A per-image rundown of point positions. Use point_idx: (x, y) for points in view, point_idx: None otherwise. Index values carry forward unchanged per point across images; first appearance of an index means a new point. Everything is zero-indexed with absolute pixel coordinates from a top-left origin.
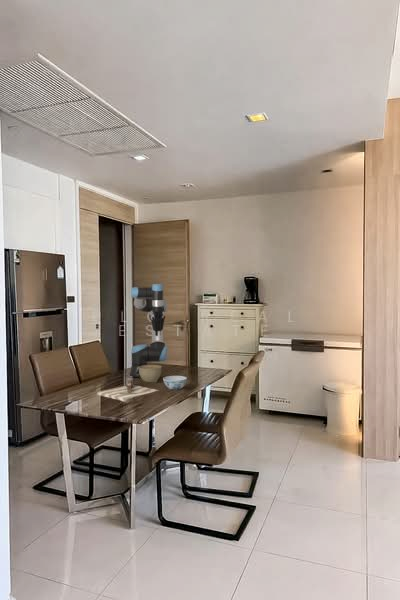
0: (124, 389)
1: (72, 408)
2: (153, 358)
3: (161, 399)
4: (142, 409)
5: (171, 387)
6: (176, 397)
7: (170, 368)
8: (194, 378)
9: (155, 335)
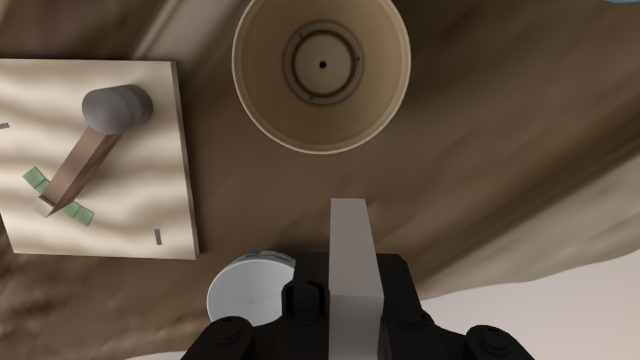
0: (85, 126)
1: None
2: None
3: (141, 317)
4: (26, 343)
5: (234, 295)
6: None
7: None
8: (535, 197)
9: (301, 253)
